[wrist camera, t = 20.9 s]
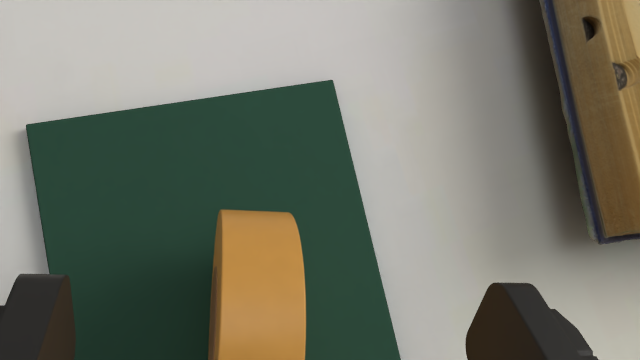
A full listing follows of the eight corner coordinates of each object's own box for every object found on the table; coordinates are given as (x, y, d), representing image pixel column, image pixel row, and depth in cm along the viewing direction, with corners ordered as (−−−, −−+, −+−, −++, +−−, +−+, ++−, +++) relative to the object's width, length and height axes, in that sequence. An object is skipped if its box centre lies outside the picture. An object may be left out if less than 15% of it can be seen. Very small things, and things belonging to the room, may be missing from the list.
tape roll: (270, 438, 21) (311, 452, 14) (203, 441, 20) (212, 458, 14) (270, 245, 24) (305, 179, 17) (211, 243, 23) (223, 174, 16)
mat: (439, 533, 23) (444, 538, 23) (114, 660, 20) (112, 669, 19) (330, 83, 26) (333, 79, 25) (28, 127, 22) (25, 124, 22)
